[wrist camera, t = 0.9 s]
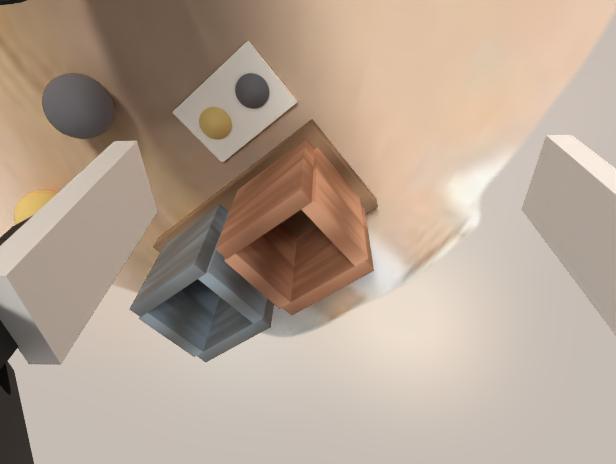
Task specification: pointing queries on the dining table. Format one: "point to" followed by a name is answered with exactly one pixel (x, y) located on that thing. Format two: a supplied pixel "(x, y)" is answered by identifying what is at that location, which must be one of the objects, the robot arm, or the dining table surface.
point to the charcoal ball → (78, 106)
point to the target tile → (235, 103)
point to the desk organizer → (260, 248)
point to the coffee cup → (10, 1)
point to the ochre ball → (32, 204)
